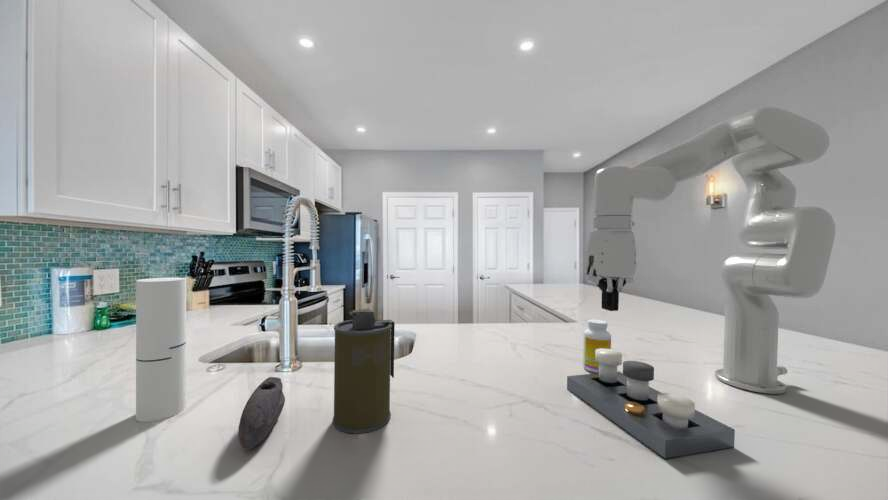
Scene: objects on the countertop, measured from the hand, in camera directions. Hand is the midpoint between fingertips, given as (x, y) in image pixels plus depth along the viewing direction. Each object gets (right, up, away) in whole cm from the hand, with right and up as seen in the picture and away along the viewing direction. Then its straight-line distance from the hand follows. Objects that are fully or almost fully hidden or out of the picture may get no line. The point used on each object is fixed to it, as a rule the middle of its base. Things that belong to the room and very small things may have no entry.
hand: (609, 309), depth 71 cm
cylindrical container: (-89, -18, -9) cm, 92 cm away
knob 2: (+4, -19, -15) cm, 24 cm away
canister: (-51, -18, -10) cm, 55 cm away
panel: (+2, -19, -7) cm, 20 cm away
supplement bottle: (+4, -19, +16) cm, 25 cm away
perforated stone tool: (-67, -18, -15) cm, 72 cm away
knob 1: (0, -15, 0) cm, 15 cm away
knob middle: (+2, -16, -7) cm, 17 cm away
